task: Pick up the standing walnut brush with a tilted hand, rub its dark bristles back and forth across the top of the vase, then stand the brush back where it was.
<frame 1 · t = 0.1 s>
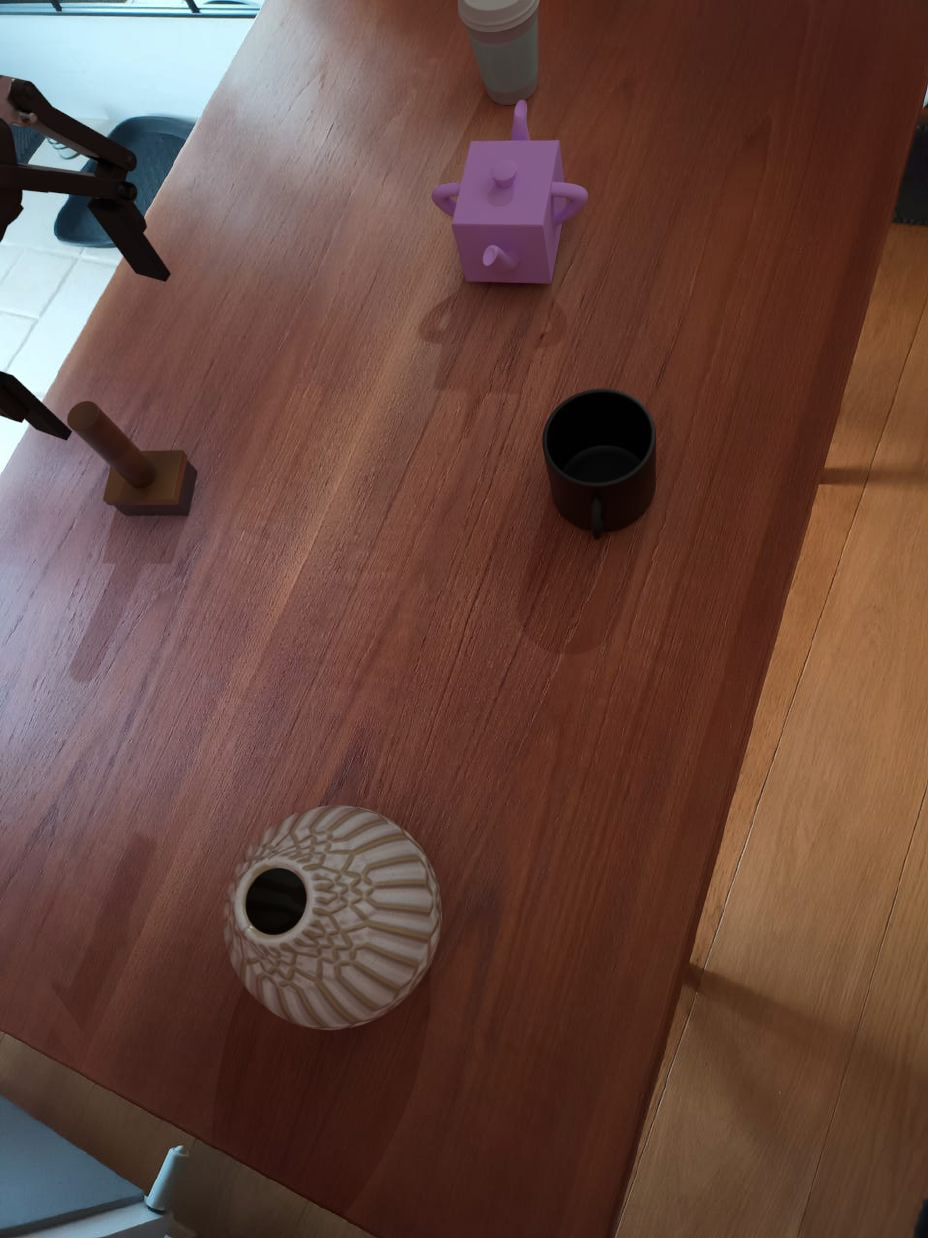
hand: (105, 350, 66), 29 cm above the table, tool pointing down, fingers open, 13 cm apart
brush: (161, 493, 96), on the table
mug: (602, 501, 87), on the table
teapot: (518, 251, 99), on the table
vase: (363, 919, 78), on the table
coffee cup: (512, 87, 107), on the table
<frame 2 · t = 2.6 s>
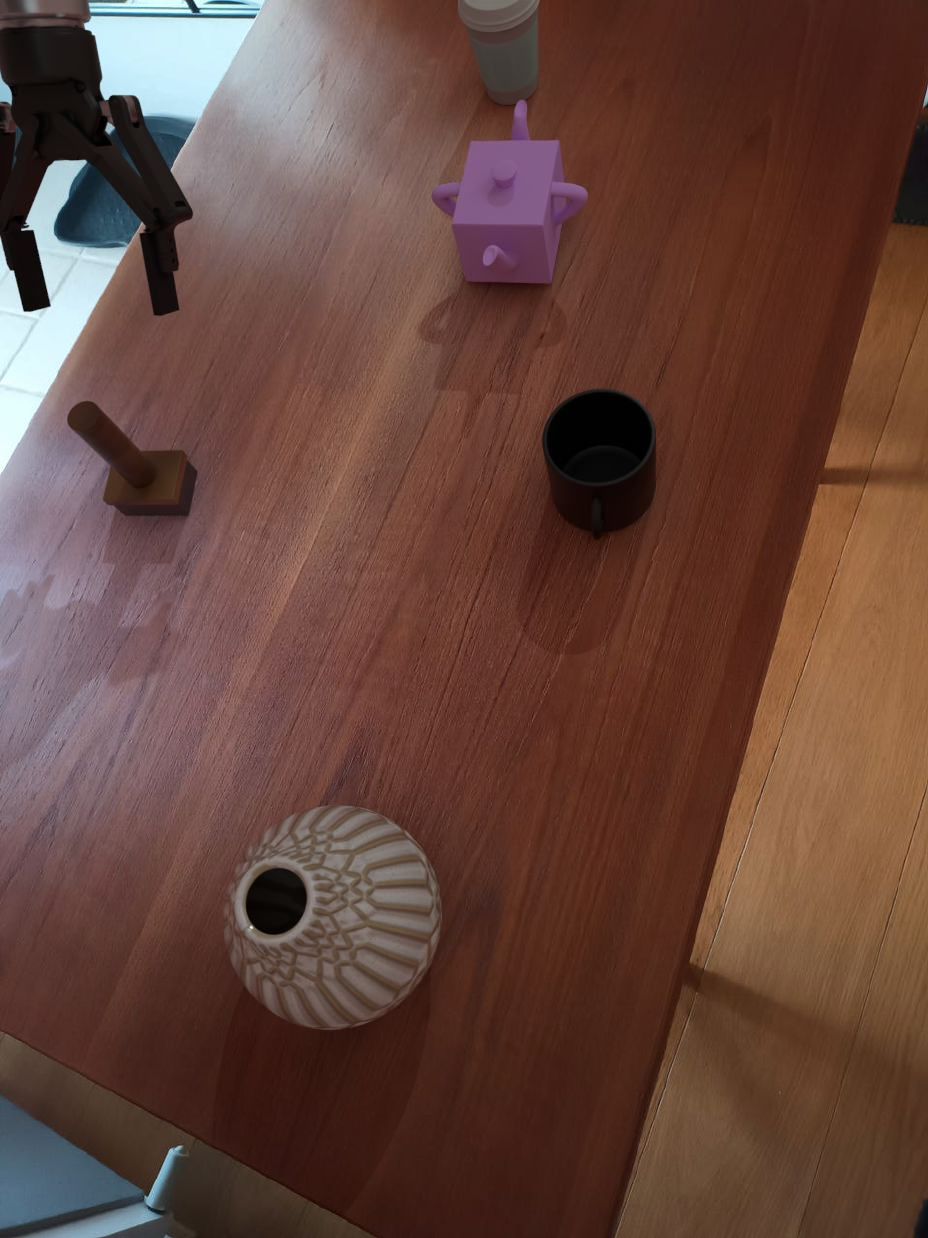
hand: (100, 311, 84), 17 cm above the table, tool tilted 40°, fingers open, 13 cm apart
nothing on the table moved.
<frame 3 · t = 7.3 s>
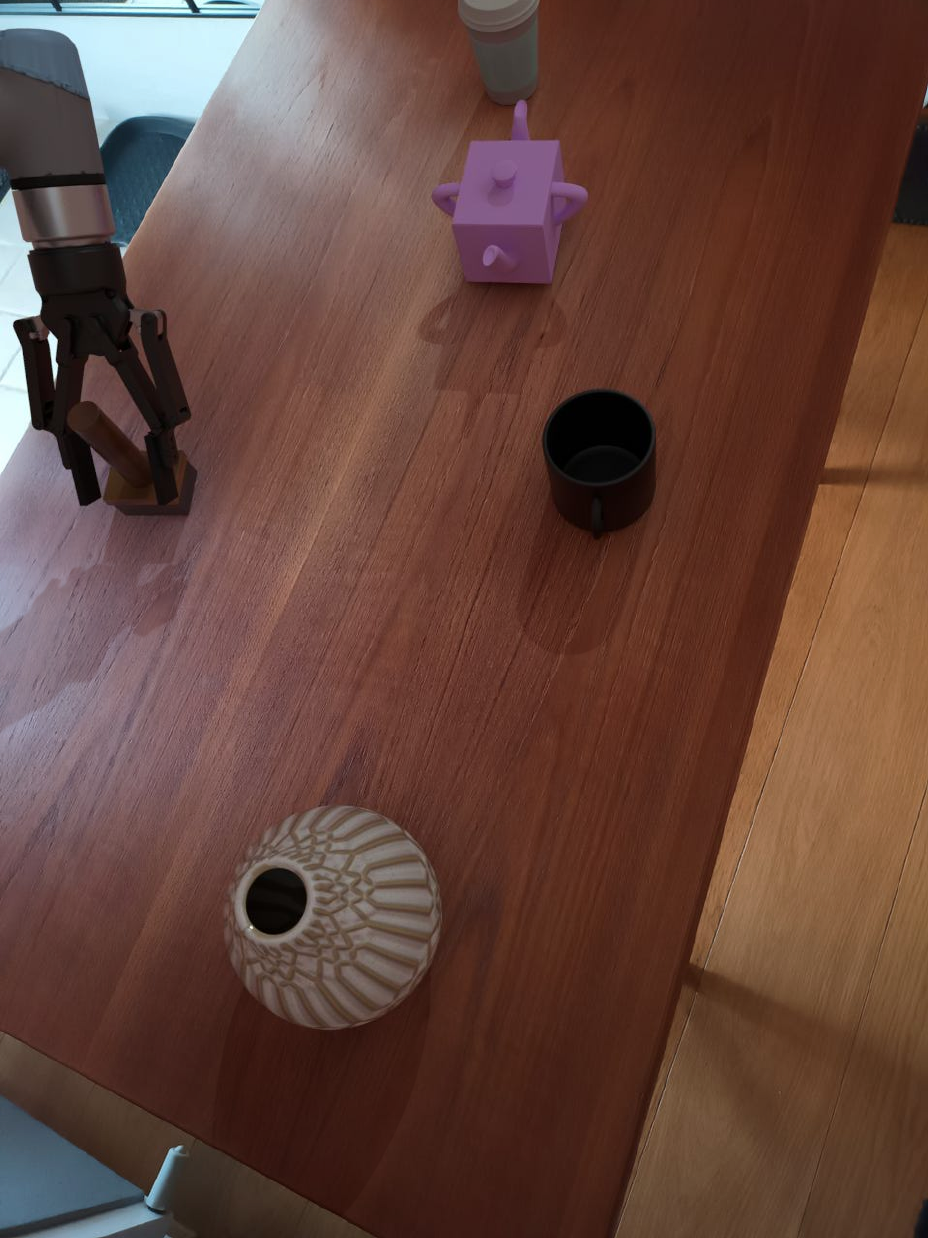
hand: (129, 500, 91), 5 cm above the table, tool tilted 45°, fingers closed on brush, 7 cm apart
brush: (161, 493, 96), on the table, touching gripper
everything else where it was.
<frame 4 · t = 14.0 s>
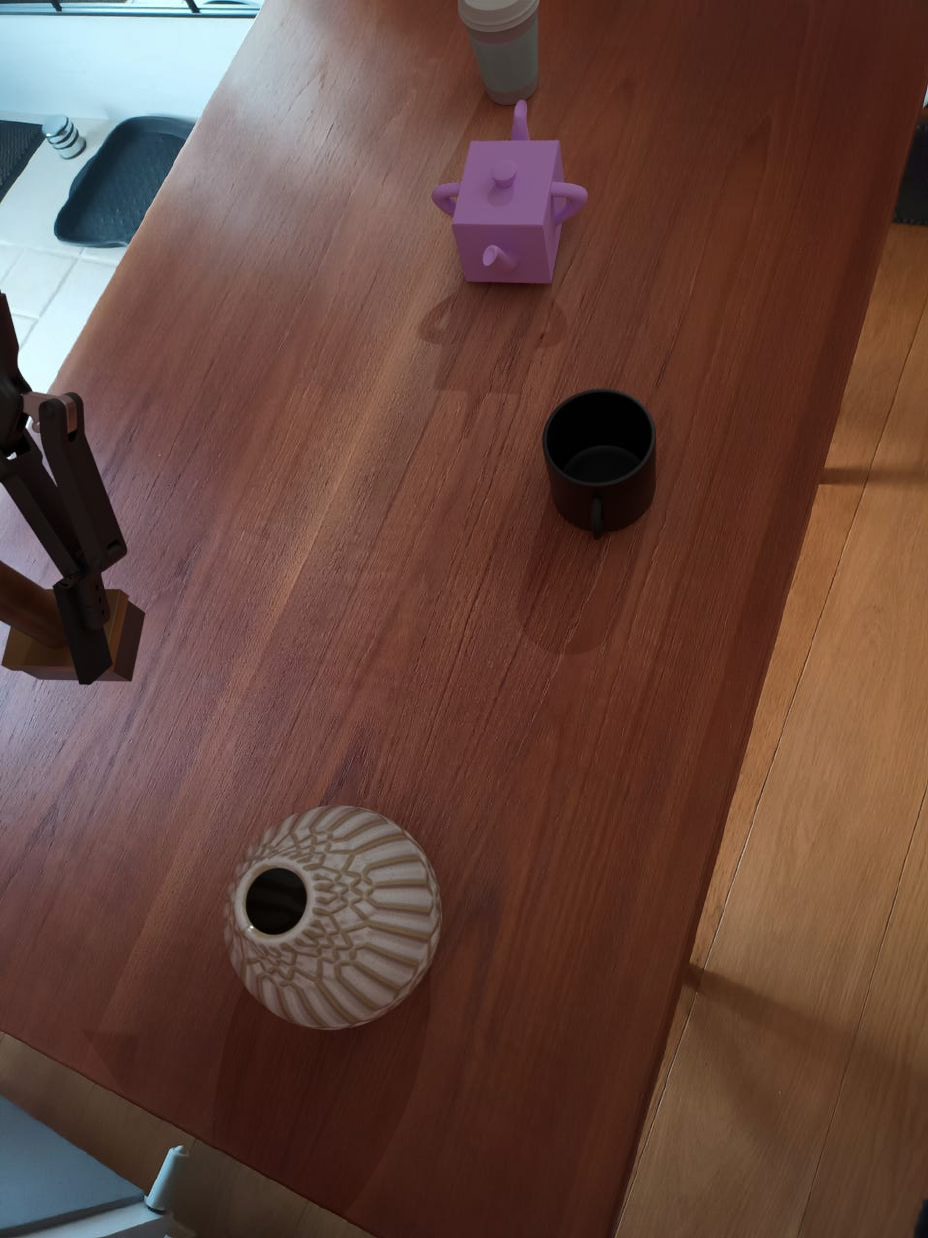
hand: (38, 672, 60), 27 cm above the table, tool tilted 45°, fingers closed on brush, 7 cm apart
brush: (92, 646, 66), point 22 cm above the table, touching gripper
everything else where it was.
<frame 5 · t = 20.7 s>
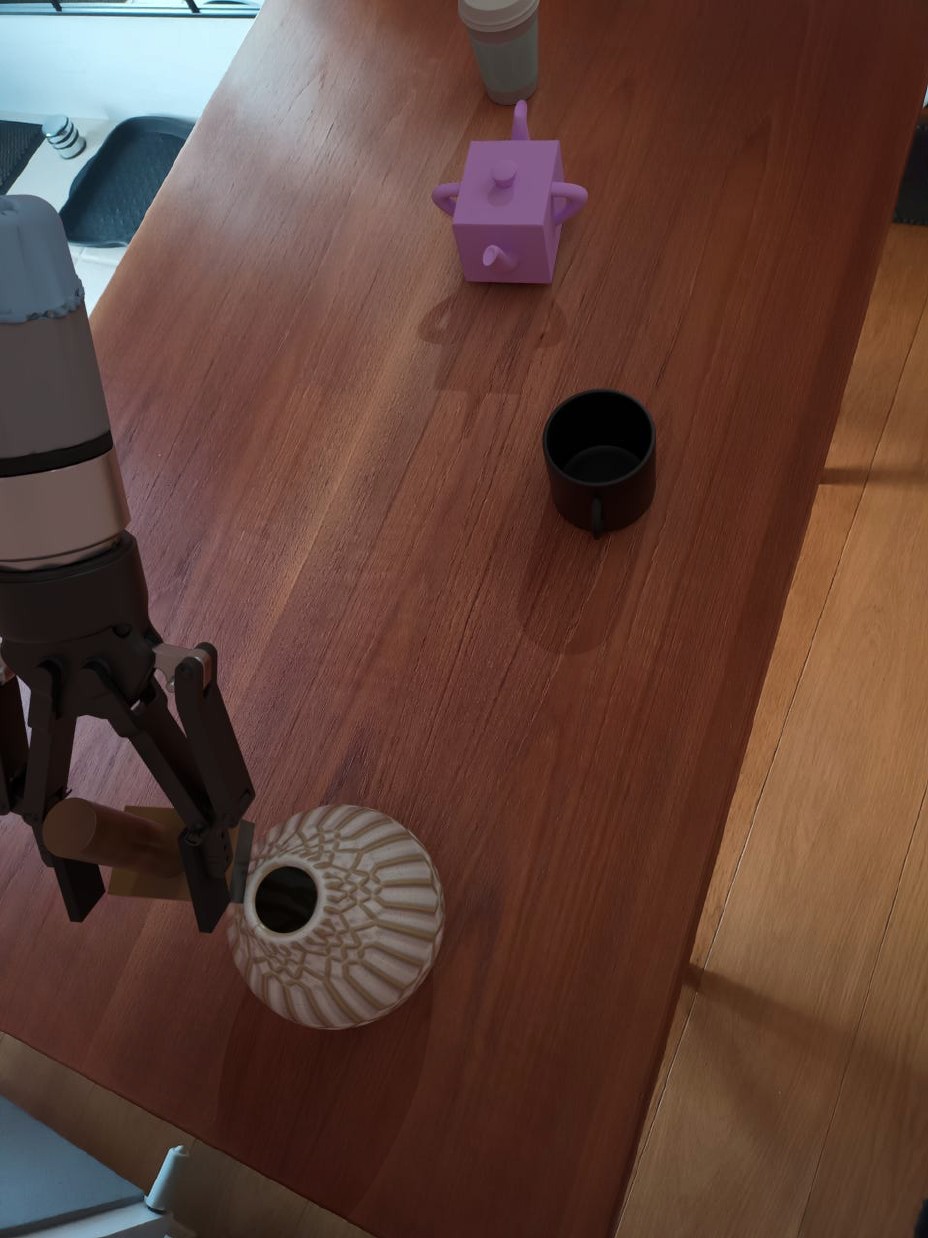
hand: (151, 910, 56), 25 cm above the table, tool tilted 45°, fingers closed on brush, 7 cm apart
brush: (199, 860, 61), point 20 cm above the table, touching gripper
everything else where it was.
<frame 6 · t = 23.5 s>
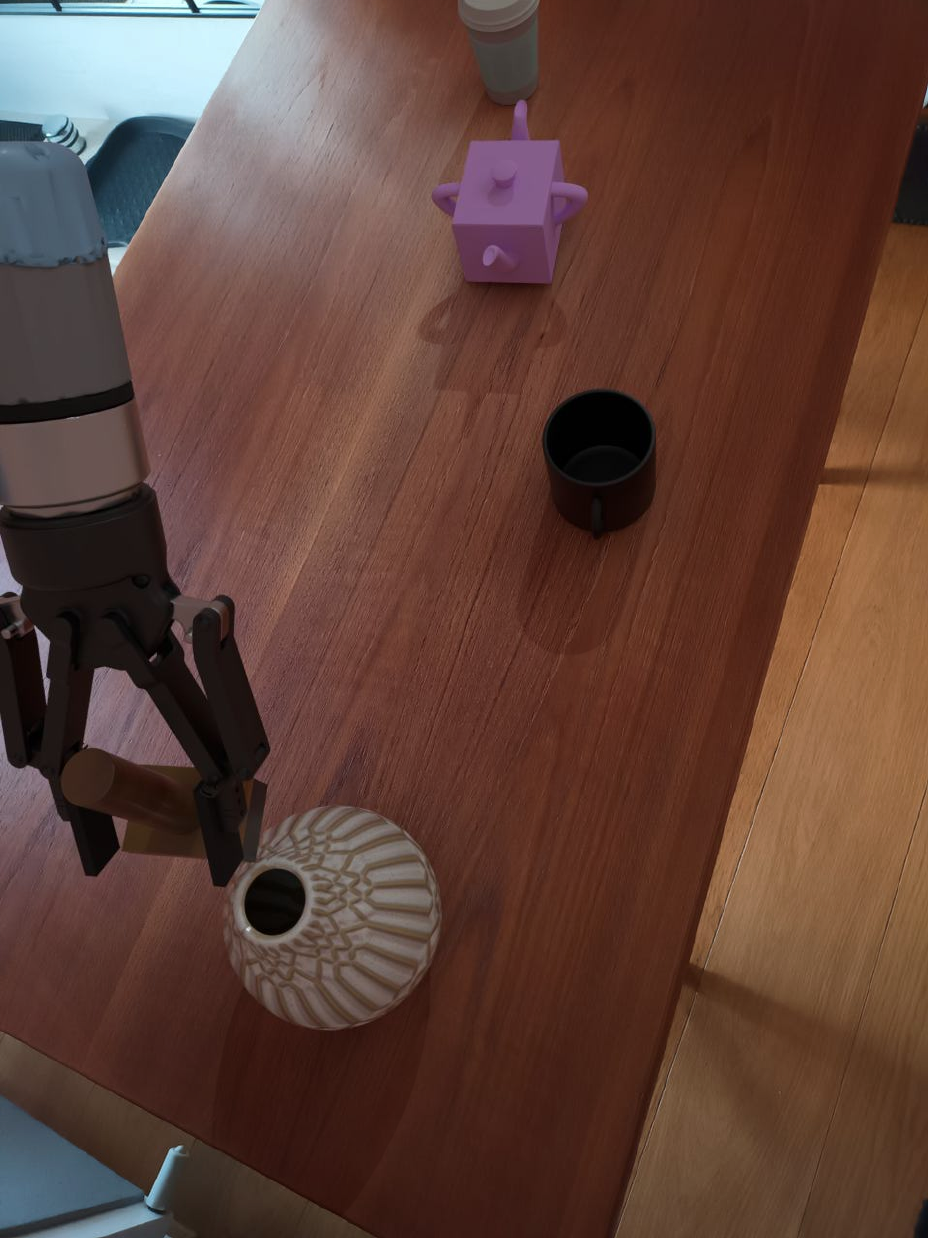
hand: (165, 866, 56), 25 cm above the table, tool tilted 45°, fingers closed on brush, 7 cm apart
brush: (212, 820, 62), point 20 cm above the table, touching gripper
everything else where it was.
when the fingers open (5 cm above the table, at t = 33.8 s): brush stays where it is, on the table.
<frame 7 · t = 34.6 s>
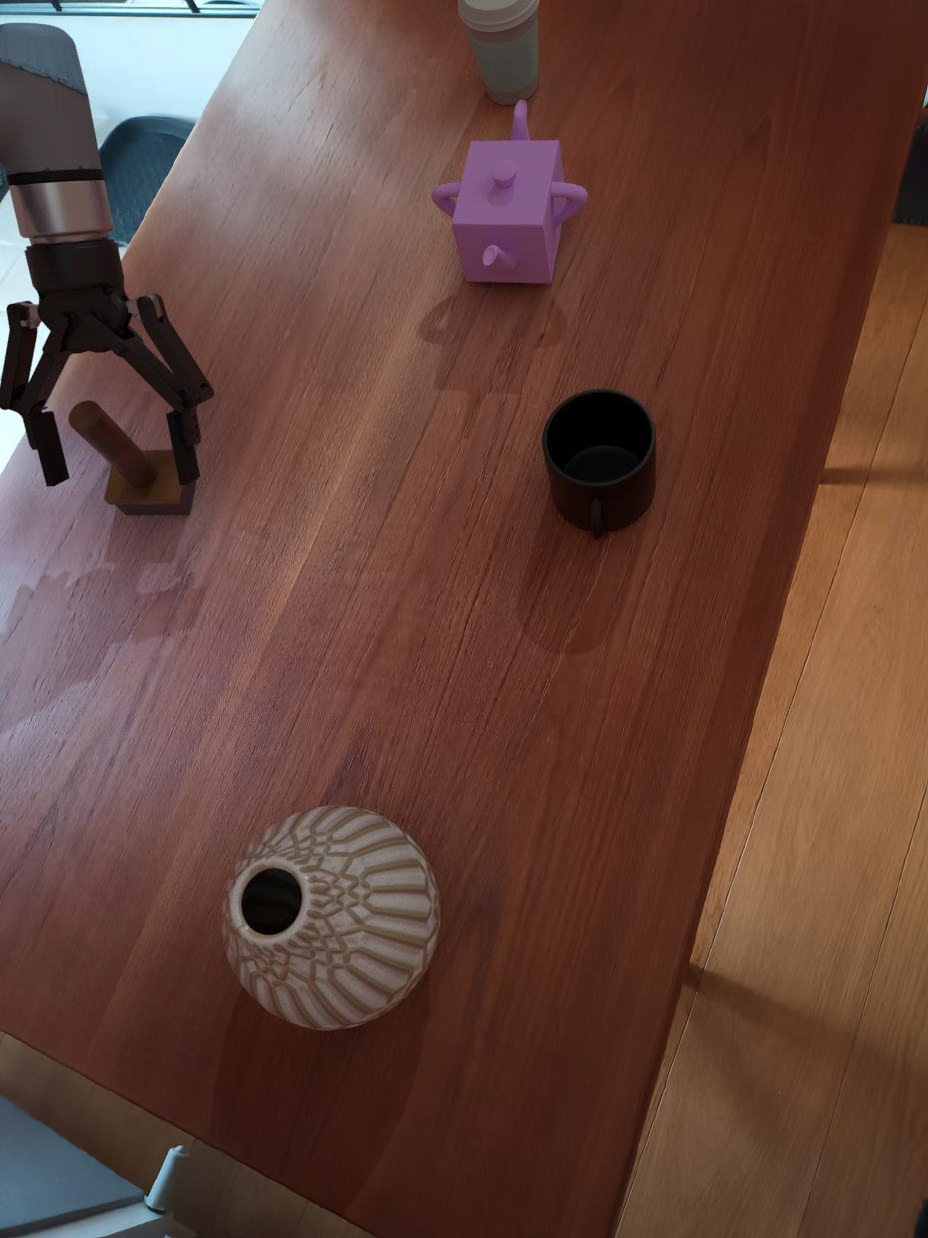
hand: (123, 482, 90), 7 cm above the table, tool tilted 45°, fingers open, 13 cm apart
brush: (162, 493, 96), on the table
everything else where it was.
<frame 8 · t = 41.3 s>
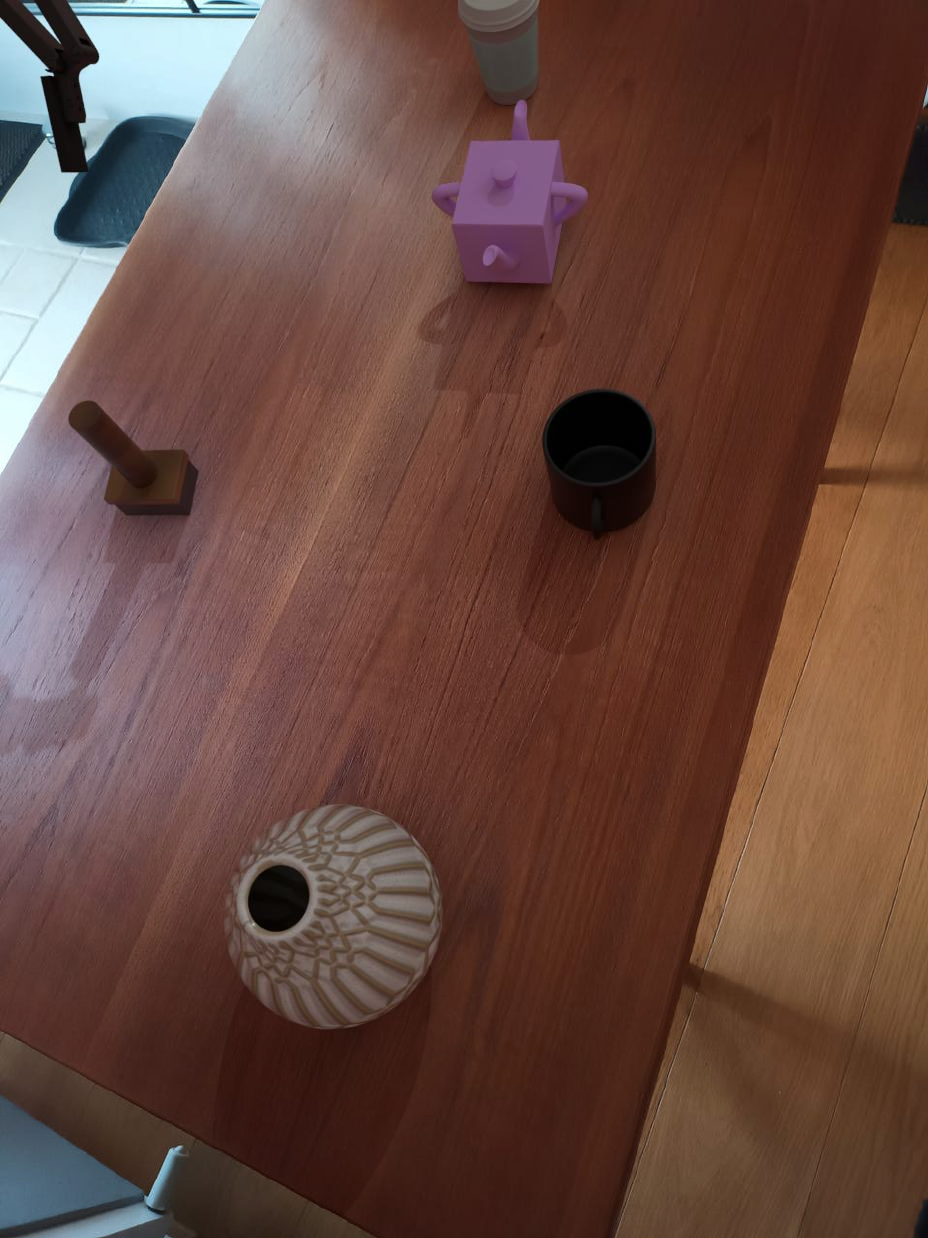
nothing on the table moved.
at the end: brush inside the target area (0.1 cm from its centre), on the table; vase tilted 1°; vase moved 0.2 cm from its start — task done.
